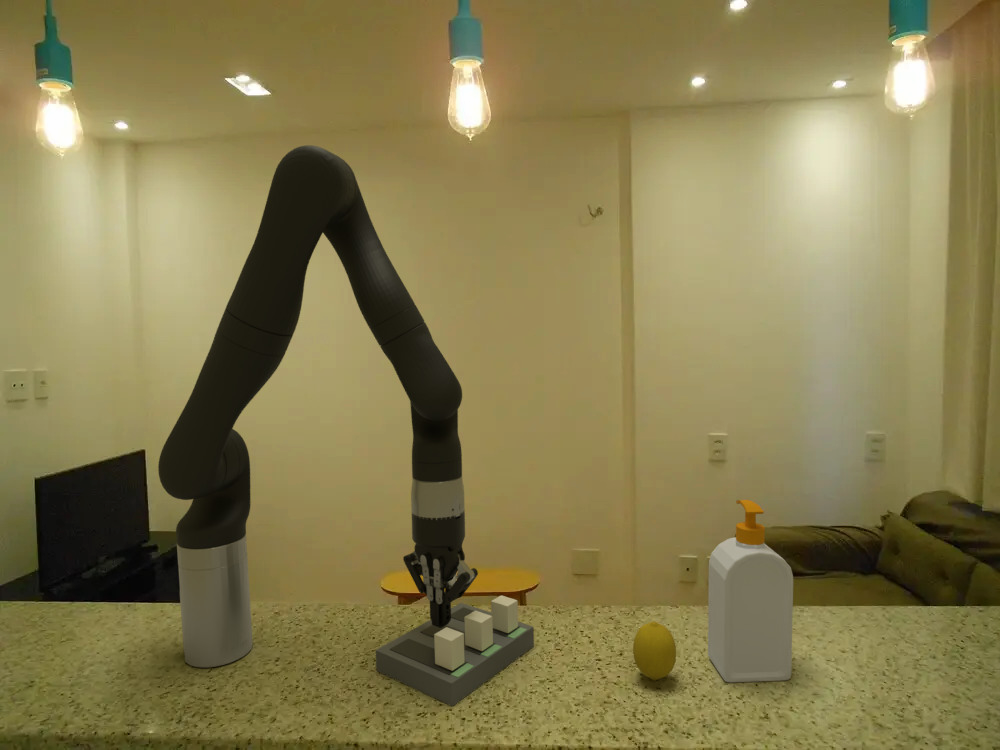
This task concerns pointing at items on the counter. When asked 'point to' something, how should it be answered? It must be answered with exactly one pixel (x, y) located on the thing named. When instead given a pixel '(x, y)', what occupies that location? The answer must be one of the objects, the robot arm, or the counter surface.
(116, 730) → the counter surface
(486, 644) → the block
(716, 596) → the soap bottle
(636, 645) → the lemon
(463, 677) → the breaker panel
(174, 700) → the counter surface
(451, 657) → the block
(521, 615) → the counter surface
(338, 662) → the counter surface
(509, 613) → the block
